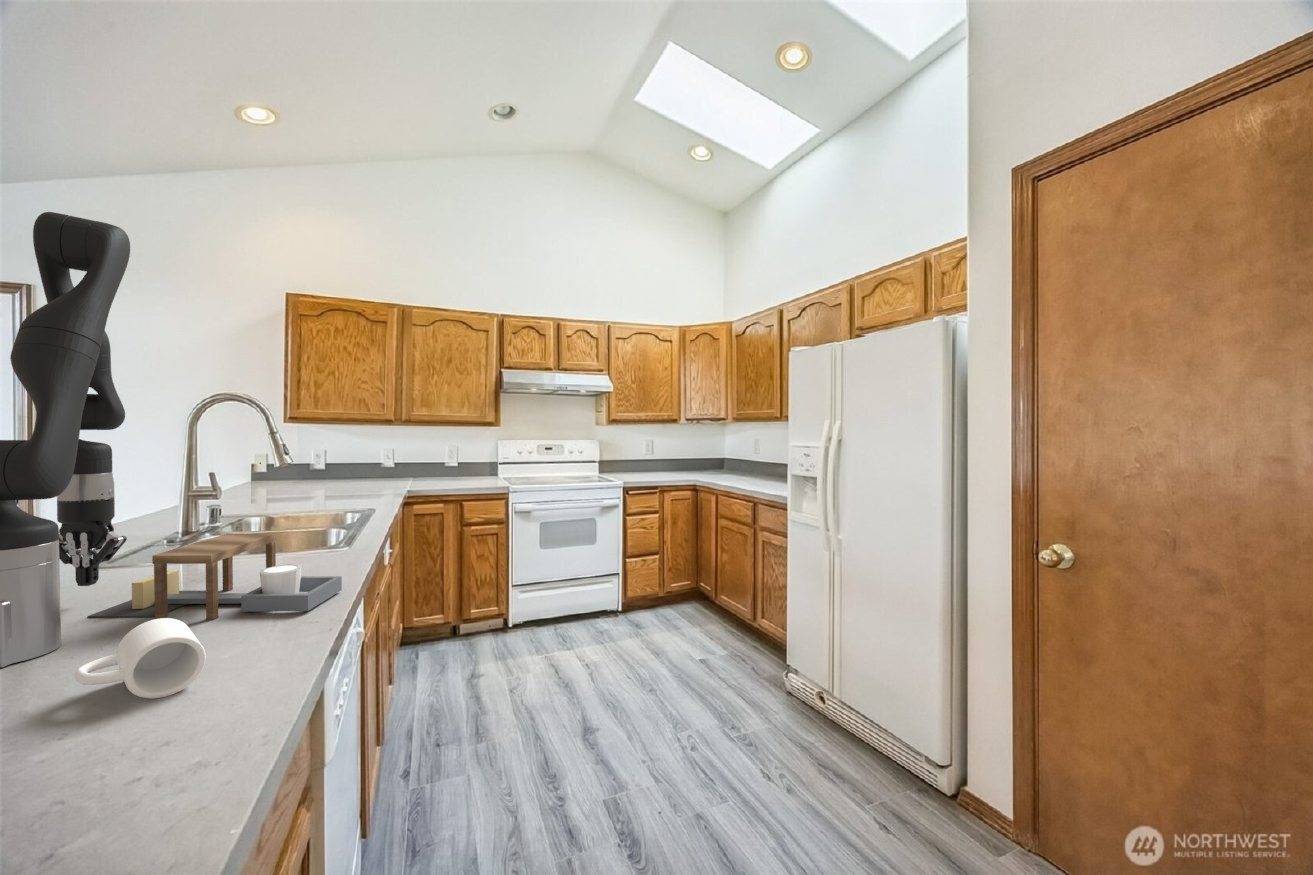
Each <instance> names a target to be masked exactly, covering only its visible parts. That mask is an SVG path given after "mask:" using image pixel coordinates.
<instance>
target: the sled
mask: <svg viewBox="0 0 1313 875" xmlns="http://www.w3.org/2000/svg"><path fill="white" fill-rule="evenodd" d="M179 573H180V571H179V570H178V569H177V570H172V569H171V570H169V569H167V604H186V605H188V604H190V605H192V604H193V605H194V604H195V605H196V604H199V605H202V604H204V605H206V593H203V594H179V591H180V574H179ZM342 583H343V582H342V575H340V576H339V575H338V576H336V575H333V576H332V575H331V576H330V575H328V576H326V575H324V576H323V575H322V576H321V575H317V576H313V575H311V576H309V575H308V576H306V575H305V576H304V575H303V576H302V575H301V579H300V588H299V594H262V588H261V586H259V587H257V588H255V589H253V590H250V591H248V592H246V593H245V592H240V593H238V592H235V593H231V592H230V593H229V592H225V593H219V592H218V604H241V612H243V613H244V612H309V611H310V610H311V609H312V610H313V609H314V608H315V607H317V606H318V605H320V604H321V603H323V602H324V601H326V600H328V599H329V598H331V597H333V596H335V595H336V594H338V593H339V592H341V591H342ZM131 600H132V609H144V608H147V607H149V606H152V605H154V604H155V594H154V574H153V575H151V576H147V577H145V578H142V579H139V580H136V581H133V582H131Z"/></svg>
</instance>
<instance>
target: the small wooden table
mask: <svg viewBox="0 0 1313 875" xmlns="http://www.w3.org/2000/svg"><path fill="white" fill-rule="evenodd" d="M276 541H277V533H225V534H222V535H218V536H215V537H211V538H208V539H204V540H202V541H198V542H194V543H191V544H187V545H184V546H181V547H176V548H174V549H170V550H166V551H163V552H160V553H157V554H154V555H152V562H151V563H152V565H153V573H154V574H153V575H154V594H155V617H154V619H160V618H169V617H168V613H169V612H168V605H167V571H168V564H169V565H173V564H175V565H176V564H177V565H182V564H184V565H187V564H189V565H190V564H191V565H192V564H193V565H199V564H202V565H203V564H205V591H206V604H205V609H206V610H205V613H206V614H205V615H206V621H214V620H216V619H217V618H219V603H218V593H219V567H218V566H219V565H218V562H220V561H221V563H222V564H221V565H222V566H221V567H222V592H229V591H232V590H233V589H234V574H233V572H234V571H233V570H234V569H233V568H234V567H233V566H234V565H233V563H234V562H233V556H236V555H239V554H242V553H245V552H249V551H251V550H253V549H257V548H259V547H262V546H264V545H265V568H269V567H272V566H277V564H276V559H277V558H276V557H277V556H276Z"/></svg>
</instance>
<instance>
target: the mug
mask: <svg viewBox="0 0 1313 875" xmlns="http://www.w3.org/2000/svg"><path fill="white" fill-rule="evenodd" d="M206 653H207V652H206V650H205V647H204V645H202V644H201V642H200V641H199V639H198V638H197V637H196V634H194V632H193V631H192V630H191V628H190V627H189V626H188V624H186V623H185V622H183V621H181V620H179V619H176V618H170V617H168V618H160V619H155V618H154V619H151V620H148V621H145V622H142V623H141V624H139V625H137V626H135V627H134V628H132V629H131V630H130V631H128V633H126V634H125V635H124V636H123V638H122V639H121V640H120V642H119V644H118V646H117V649H116V653H114V654H110V655H106V656H103V657H100V658H97V659H95V660H92V661H90V662H87V663H85V664H83V665H82V666H80V667H78V668H77V669H76V670H75V673H74V679H75V681H76V682H77V683H79V684H81V685H85V686H94V685H96V686H97V685H106V684H113V683H117V682H121V681H123V682H124V684H125V687H126V688H127V689H128V691H129V692H130V693H131V694H132V695H134V696H137V697H139V698H143V699H150V700H151V699H162V698H165V697H169V696H172V695H175V694H177V693H179V692H181V691H183V690H184V689H186V688H187V687H189V686H190V685H191V684H192V683H193V682H195V680H197V679H198V677H199V676H200V674H201V673H202V671H203V669H204V668H205V665H206V660H207V654H206ZM113 666H114V667H115V666H118V667H119V669H114V670H110V671H109V670H108V671H104V672H97V673H96V671H97V670H102V669H105V668H108V667H113ZM94 671H95V672H94ZM92 672H93V673H92Z"/></svg>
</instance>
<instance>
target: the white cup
mask: <svg viewBox="0 0 1313 875" xmlns="http://www.w3.org/2000/svg"><path fill="white" fill-rule="evenodd" d="M302 567H303V566H302V565H301V564H291V563H290V564H279V565H276V566H272V567H269V568H266V567H265V568H263V569H260V570H259V578H260V587H261V588H262V594H300V592H299V588H300V579H301V576H302V569H303V568H302Z"/></svg>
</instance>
